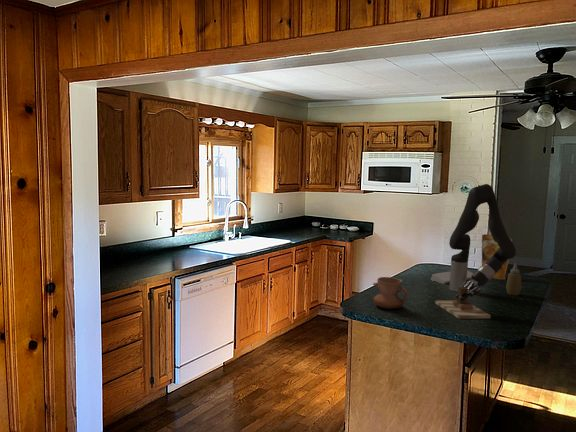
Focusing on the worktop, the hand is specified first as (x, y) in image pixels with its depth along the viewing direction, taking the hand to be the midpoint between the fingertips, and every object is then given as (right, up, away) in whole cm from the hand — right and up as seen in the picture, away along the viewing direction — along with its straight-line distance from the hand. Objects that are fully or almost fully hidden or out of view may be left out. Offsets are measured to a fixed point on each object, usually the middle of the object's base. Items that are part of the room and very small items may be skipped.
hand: (458, 298), depth 244 cm
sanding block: (+2, -5, +1) cm, 5 cm away
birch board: (+2, -6, +1) cm, 6 cm away
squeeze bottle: (+44, -4, +37) cm, 58 cm away
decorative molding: (+22, 0, +71) cm, 74 cm away
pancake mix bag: (+51, 0, +81) cm, 95 cm away
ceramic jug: (-34, -5, +3) cm, 35 cm away
